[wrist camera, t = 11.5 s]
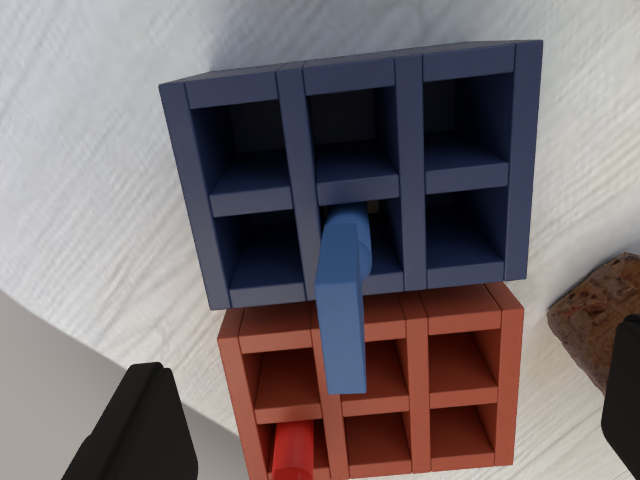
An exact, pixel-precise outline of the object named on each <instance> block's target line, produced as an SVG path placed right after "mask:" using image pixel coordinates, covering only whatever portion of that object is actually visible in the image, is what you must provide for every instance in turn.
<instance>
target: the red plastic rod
mask: <svg viewBox="0 0 640 480" xmlns="http://www.w3.org/2000/svg"><path fill="white" fill-rule="evenodd" d="M313 439H314V419H313V420H302V421H291V422H280V423H277V427H276V437H275V447H274V457H273V467H272V477H271V480H313Z"/></svg>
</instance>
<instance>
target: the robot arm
mask: <svg viewBox="0 0 640 480" xmlns="http://www.w3.org/2000/svg"><path fill="white" fill-rule="evenodd" d="M601 427H602V431H603V434H604V436H605V438H606V440H607V442H608V443H609V444H610V446H611V447H612V448H613V450H614V451H615V452H616V454H617V455H618V456H619V458H620V459H621V460H622V462H623V463H624V464H625V466H626V467H627V468H628V470H629V471H630V472H631V474H632V475H633V476H634V478H635V479H636V480H640V313H637V314H630V315H627V316H626V317H625V318H624V321H623V322H621V323H619V324H618V325H617V328H616V333H615V339H614V345H613V351H612V357H611V364H610V370H609V376H608V382H607V388H606V394H605V400H604V406H603V413H602V419H601ZM197 476H198V461H197V457H196V453H195V450H194V447H193V443H192V440H191V436H190V432H189V429H188V426H187V422H186V418H185V415H184V412H183V408H182V404H181V401H180V397H179V394H178V390H177V387H176V383H175V380H174V376H173V373H172V371H171V369H170V368H164V367H163V365H162V364H161V363H160V362H152V363H142V364H133V365H131V366H130V367H129V368H128V370H127V372H126V373H125V375H124V377H123V379H122V380H121V382H120V384H119V386H118V388H117V389H116V391H115V393H114V395H113V396H112V398H111V400H110V402H109V403H108V405H107V407H106V409H105V410H104V412H103V414H102V416H101V417H100V419H99V421H98V423H97V424H96V426H95V428H94V430H93V431H92V433H91V435H89V436H88V437H87V438H86V439H85V440H84V442H83V443H82V444H81V446H80V448H79V450H78V451H77V453H76V455H75V457H74V458H73V460H72V462H71V463H70V465H69V467H68V469H67V470H66V472H65V474H64V475H63V477H62V479H61V480H197Z"/></svg>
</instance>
